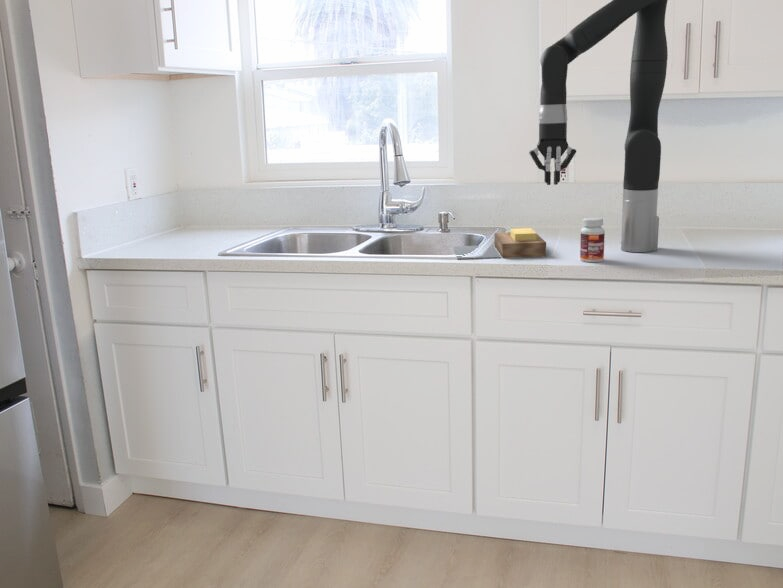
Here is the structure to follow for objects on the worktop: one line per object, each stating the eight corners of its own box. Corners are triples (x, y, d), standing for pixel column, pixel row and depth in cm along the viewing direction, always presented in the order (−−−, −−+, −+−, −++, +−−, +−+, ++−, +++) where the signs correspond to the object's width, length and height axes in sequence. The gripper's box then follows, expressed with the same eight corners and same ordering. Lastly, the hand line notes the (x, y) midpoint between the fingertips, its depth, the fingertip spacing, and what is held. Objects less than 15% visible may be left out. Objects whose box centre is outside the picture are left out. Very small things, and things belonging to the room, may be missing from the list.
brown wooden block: (534, 244, 225) (534, 231, 224) (545, 256, 208) (546, 242, 207) (494, 245, 225) (494, 232, 224) (502, 257, 208) (502, 243, 207)
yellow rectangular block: (531, 234, 219) (531, 228, 218) (536, 240, 210) (536, 233, 209) (510, 235, 219) (510, 228, 218) (515, 241, 210) (515, 234, 210)
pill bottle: (588, 263, 197) (590, 221, 194) (575, 259, 202) (576, 218, 200) (608, 261, 199) (609, 218, 196) (594, 257, 204) (595, 216, 202)
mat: (492, 246, 225) (492, 245, 225) (500, 257, 208) (500, 256, 208) (453, 247, 225) (453, 246, 225) (457, 259, 208) (457, 258, 208)
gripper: (574, 120, 210) (573, 182, 214) (526, 122, 210) (525, 184, 214) (581, 120, 202) (579, 185, 207) (530, 122, 203) (530, 186, 207)
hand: (552, 184), depth 211 cm, fingers closed
